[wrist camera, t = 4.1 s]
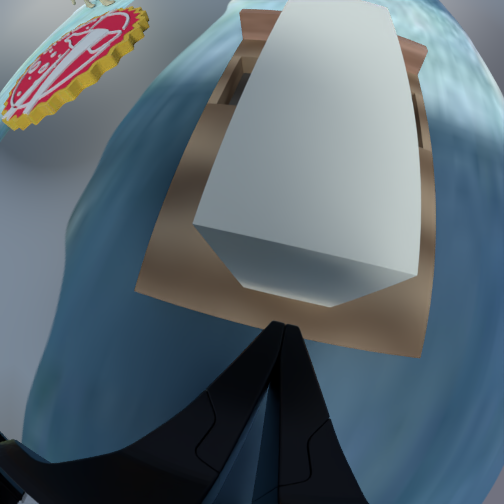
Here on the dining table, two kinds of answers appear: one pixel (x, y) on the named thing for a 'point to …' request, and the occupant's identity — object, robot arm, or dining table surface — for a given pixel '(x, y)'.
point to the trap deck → (264, 304)
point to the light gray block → (320, 161)
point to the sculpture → (104, 0)
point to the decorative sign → (73, 65)
